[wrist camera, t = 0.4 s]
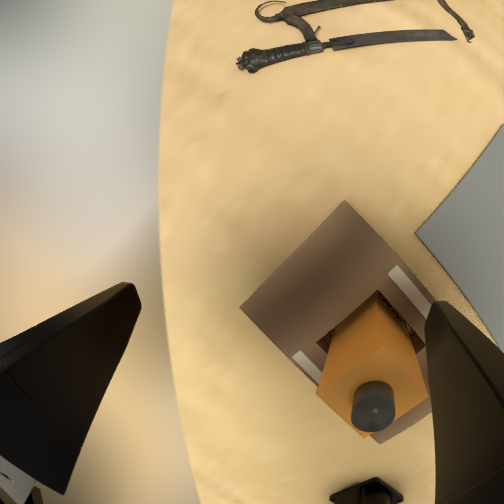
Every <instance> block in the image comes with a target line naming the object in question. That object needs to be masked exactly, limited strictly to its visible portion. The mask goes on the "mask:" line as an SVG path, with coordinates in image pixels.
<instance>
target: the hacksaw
mask: <svg viewBox="0 0 504 504" xmlns="http://www.w3.org/2000/svg"><path fill="white" fill-rule="evenodd" d="M380 1H391V0H317V1H312V2H306V3H301V4H297V5H293V6H288V7H285V8H284V9H283V11H281V12H280V13H278V14H275V16H272V17H263V16H261V15H260V14H259V13H258V9H259V8H260V7H261V6H262V5H264V4H266V3H269V2H283V1H269V2H265V3H263V4H261V5H259V6H258V7H257V8H256V10H255V15H256V16H257V17H258V18H259V19H260V20H264V21H273V20H277V19H278V21H279V20H280V19H283V20H285V21H286V22H287V24H292V25H294V26H295V27H296V26H297V27H298V28H299V29H300V30H301V32H302V33H303V35H304V38H305V40H306V42H302V43H298V44H292V45H286V46H282V47H276V48H272V49H267V50H260V49H255V48H252V49H250V50H249V51H244V52H243V54H242V58H241V57H239V58H237V61H240V62H237V63H236V65H237V64H240V65H239V66H238V68H239V69H241V68H243V65H244V66H245V68H246V69H247V70H248V72H249V73H253V72H256V71H257V70H258V69H259V68H261V67H264V66H267V65H270V64H273V63H275V62H276V63H277V62H280V61H284V60H288V59H291V58H295V57H300V56H303V55H310V54H313V53H320V52H323V48H328V47H332V48H333V50H336V49H342V48H347V47H348V48H349V47H354V46H362V45H369V44H377V43H378V44H379V43H389V42H390V43H391V42H401V41H402V42H403V41H404V42H405V41H421V40H422V41H423V40H424V41H425V40H426V41H428V40H429V41H430V40H431V41H432V40H433V41H434V40H435V41H436V40H437V41H438V40H439V41H440V40H446V41H453V40H457V39H456V38H454V37H453V36H451V35H450V34H449V33H447V32H446V31H444V30H399V31H385V32H374V33H365V34H357V35H350V36H344V37H337V38H332V39H329V41H330V42H323V43H321V42H320V40H318V39H317V38H316V36H315V33H316V31H317V30H318V29H319V28H320V26H318V28H317V29H316V31H315V32H313V30H312V28H311V26H310V24H309V23H307V22H306V21H305V20H304V19H302V18H301V17H299V16H301V15H304V14H307V13H312V12H317V11H322V10H326V9H333V8H337V7H343V6H348V5H355V4H362V3H371V2H380ZM438 2H439V3H440V5H441V6H442V7H443V8H444V9H445V10H446V11H447V12H448V13H449V14H451V15H452V16H453V17H454V18H455V19H456V20H457V22H458V23H459V24H460V25H461V26H462V27H461V30H462V31H463V33H464V35H465V37H466V39H467V42H468V43H471V42H470V41H469V40H471V39H472V38H474V37H475V35H474V33H473V30H471V29H469V27H468V25H467V23H466V22H465V21H464V20H463V19H462V18H461V17H460V16H459V15H458V14H456V13H455V12H454V11H453V10H452V9H451V8H450V7H449V6H448V5H447V3H446V1H445V0H438ZM284 3H286V2H284Z"/></svg>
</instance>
